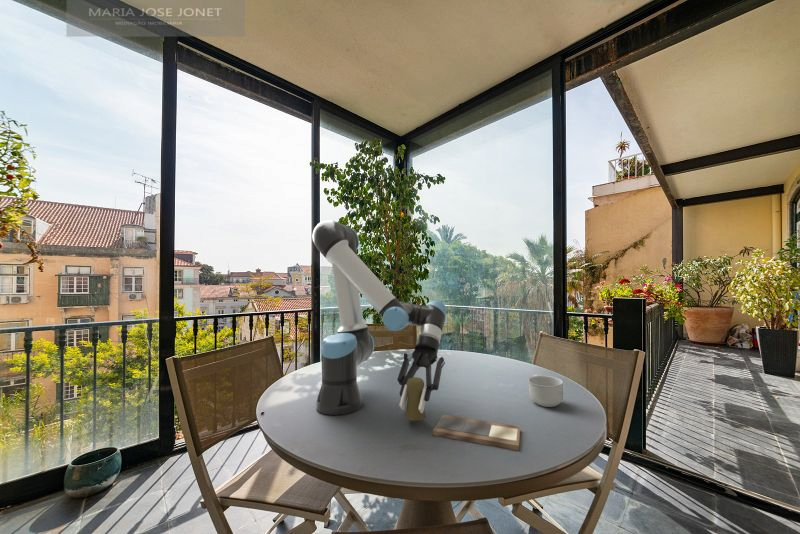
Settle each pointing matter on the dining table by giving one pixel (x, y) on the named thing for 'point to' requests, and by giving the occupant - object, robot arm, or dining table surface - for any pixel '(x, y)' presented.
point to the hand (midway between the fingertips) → (411, 409)
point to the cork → (414, 399)
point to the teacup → (546, 390)
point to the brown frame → (478, 431)
